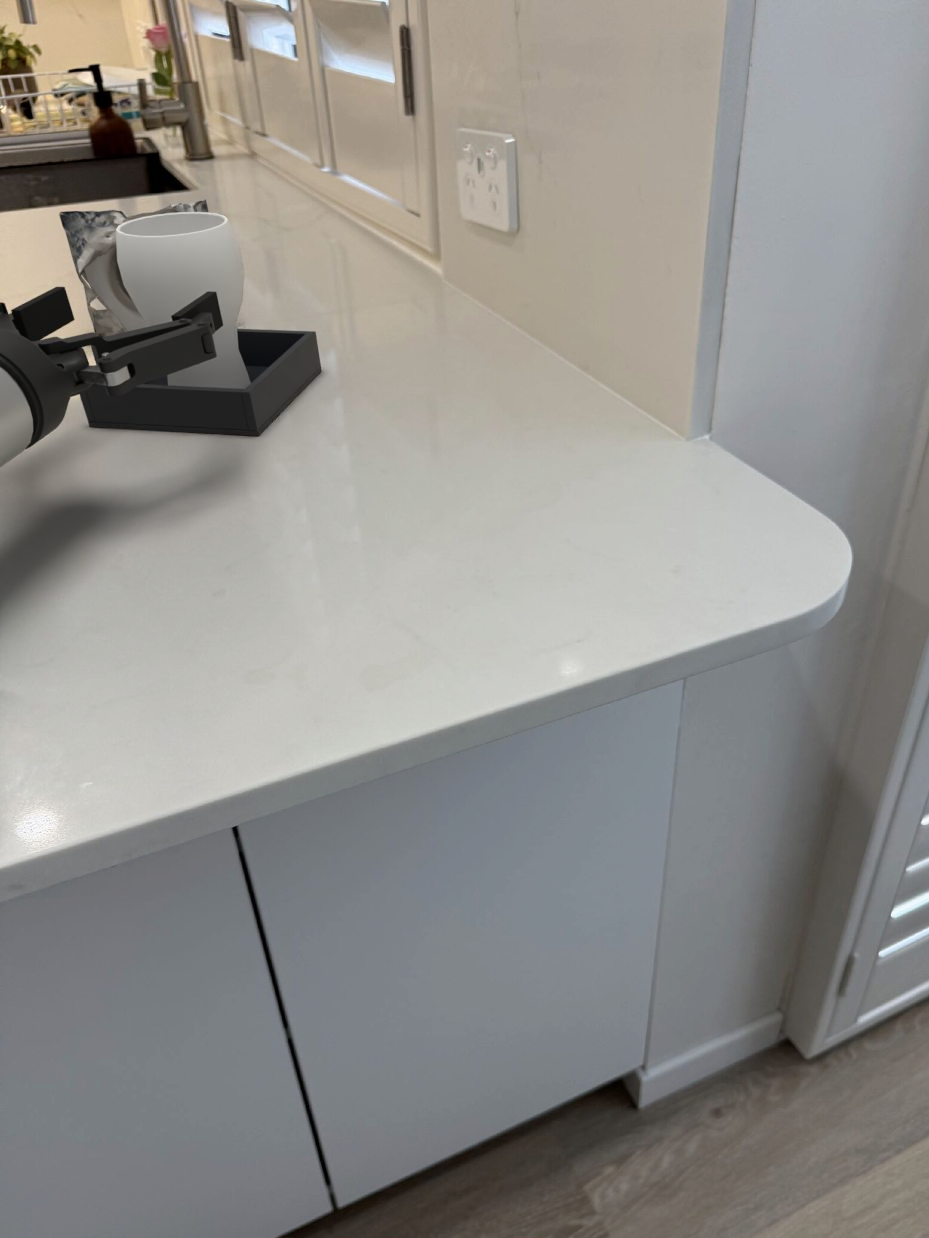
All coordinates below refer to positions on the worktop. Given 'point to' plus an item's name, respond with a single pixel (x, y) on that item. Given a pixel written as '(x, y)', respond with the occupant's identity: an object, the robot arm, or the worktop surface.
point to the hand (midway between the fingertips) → (140, 305)
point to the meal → (107, 264)
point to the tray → (217, 391)
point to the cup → (187, 283)
